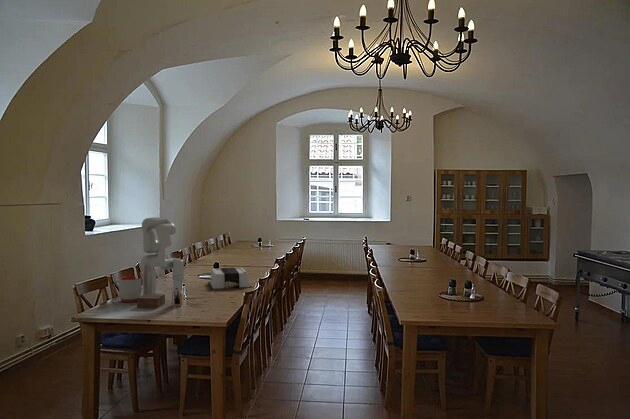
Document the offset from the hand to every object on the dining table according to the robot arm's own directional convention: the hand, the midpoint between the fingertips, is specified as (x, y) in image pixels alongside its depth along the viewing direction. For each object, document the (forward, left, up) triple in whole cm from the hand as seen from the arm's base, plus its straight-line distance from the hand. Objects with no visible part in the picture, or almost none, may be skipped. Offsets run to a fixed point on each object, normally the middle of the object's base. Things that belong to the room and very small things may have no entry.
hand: (178, 302), depth 348 cm
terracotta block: (0, 0, -2) cm, 2 cm away
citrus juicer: (-14, -36, -2) cm, 39 cm away
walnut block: (+2, -18, -2) cm, 18 cm away
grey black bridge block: (-72, +27, -2) cm, 77 cm away
